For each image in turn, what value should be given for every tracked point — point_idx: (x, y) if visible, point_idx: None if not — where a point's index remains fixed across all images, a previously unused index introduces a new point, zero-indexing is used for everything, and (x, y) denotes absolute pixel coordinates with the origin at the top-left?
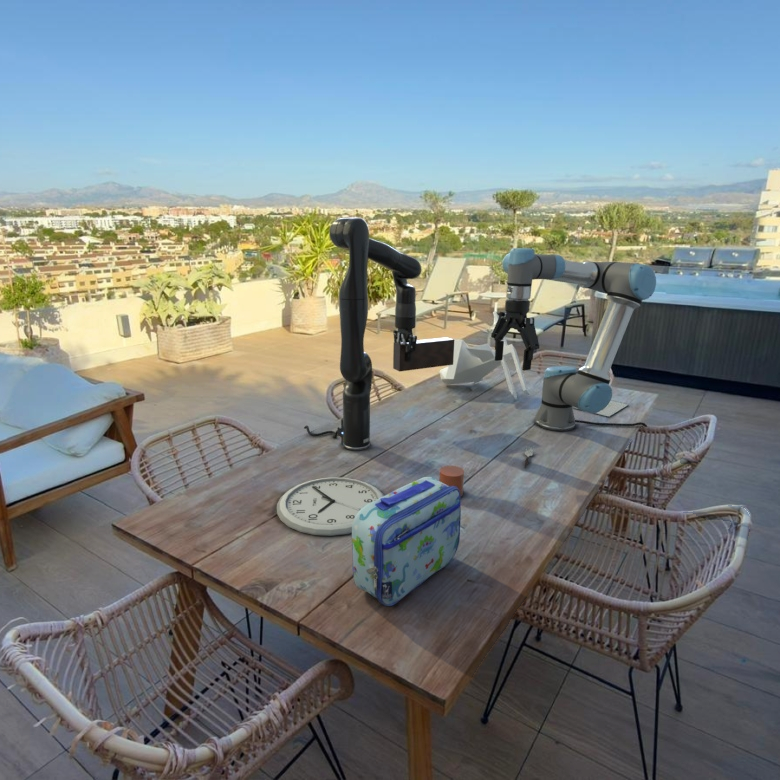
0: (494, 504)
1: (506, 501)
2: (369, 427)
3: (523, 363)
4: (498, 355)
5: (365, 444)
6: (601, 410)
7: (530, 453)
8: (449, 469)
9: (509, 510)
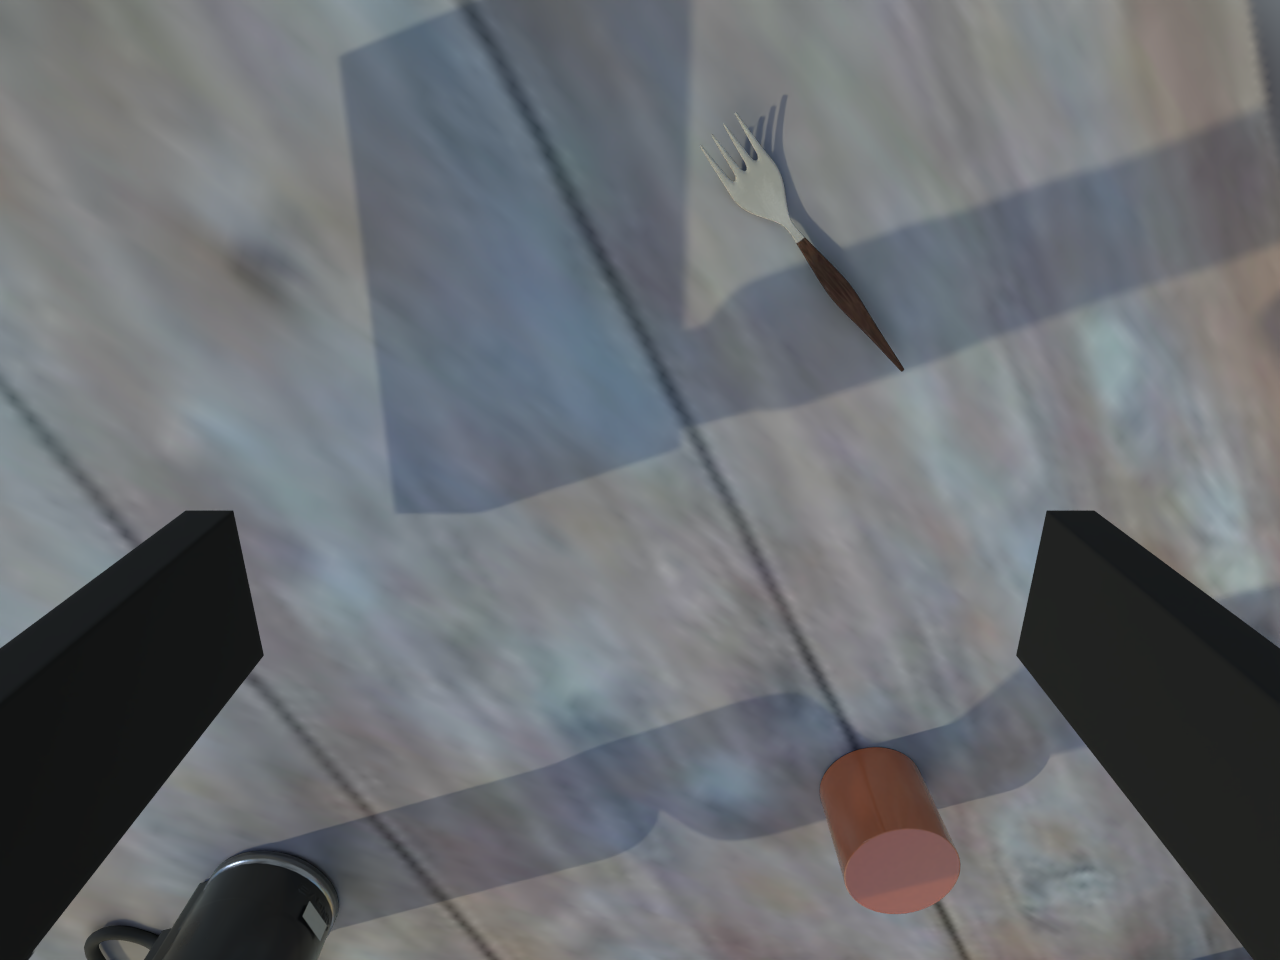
0: (1048, 701)
1: None
2: (262, 953)
3: (1099, 742)
4: (197, 674)
5: (323, 905)
6: None
7: (760, 173)
8: (885, 874)
9: None
